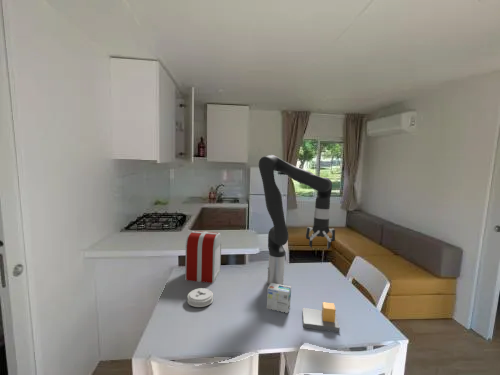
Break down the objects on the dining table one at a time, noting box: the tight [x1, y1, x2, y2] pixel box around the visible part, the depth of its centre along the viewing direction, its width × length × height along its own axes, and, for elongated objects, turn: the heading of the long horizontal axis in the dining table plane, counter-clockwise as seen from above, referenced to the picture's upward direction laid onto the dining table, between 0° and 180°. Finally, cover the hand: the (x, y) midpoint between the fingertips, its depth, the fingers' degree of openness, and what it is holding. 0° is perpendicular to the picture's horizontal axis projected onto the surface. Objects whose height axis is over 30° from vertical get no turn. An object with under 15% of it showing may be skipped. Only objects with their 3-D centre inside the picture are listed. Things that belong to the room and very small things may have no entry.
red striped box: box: [184, 230, 222, 284], centre depth 158 cm, size 16×18×27 cm
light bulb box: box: [266, 283, 292, 314], centre depth 127 cm, size 11×7×11 cm, turn 71°
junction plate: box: [301, 307, 341, 333], centre depth 118 cm, size 15×12×2 cm
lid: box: [187, 287, 214, 308], centre depth 131 cm, size 13×13×5 cm
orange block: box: [321, 301, 337, 322], centre depth 117 cm, size 5×5×6 cm
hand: (319, 247), depth 134 cm, fingers open, 8 cm apart
